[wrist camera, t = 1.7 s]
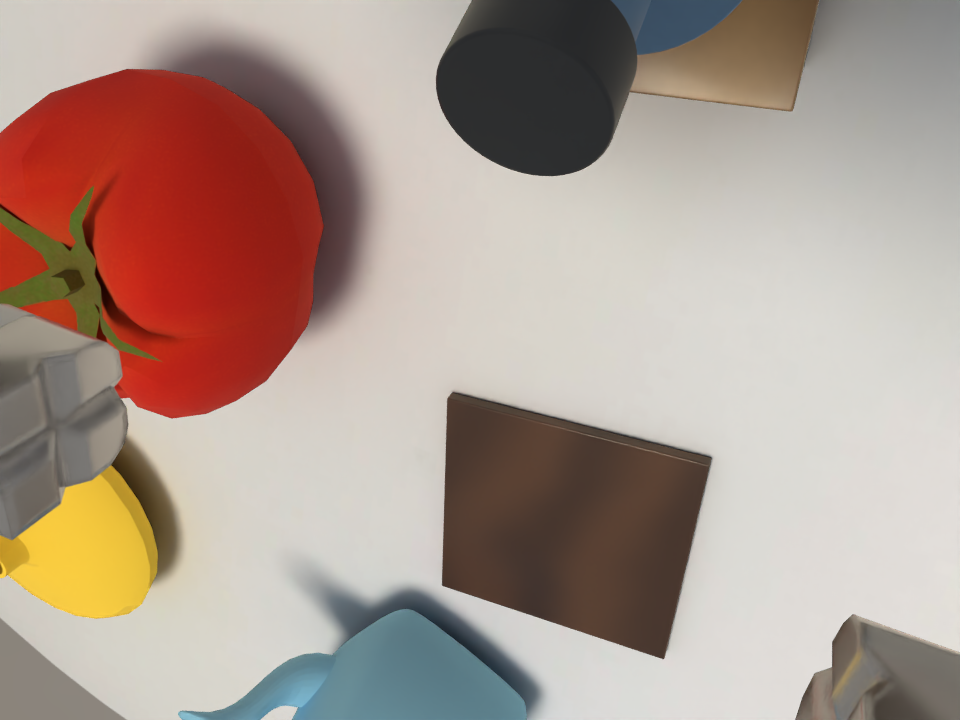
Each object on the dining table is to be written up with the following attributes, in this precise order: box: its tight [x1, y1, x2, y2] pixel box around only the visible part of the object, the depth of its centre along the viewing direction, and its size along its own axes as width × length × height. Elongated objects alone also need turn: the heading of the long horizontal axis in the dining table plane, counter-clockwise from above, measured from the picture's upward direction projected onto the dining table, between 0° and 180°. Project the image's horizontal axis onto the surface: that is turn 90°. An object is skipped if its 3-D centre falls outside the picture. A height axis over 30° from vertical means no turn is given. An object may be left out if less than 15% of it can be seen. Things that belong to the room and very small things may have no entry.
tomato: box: [0, 69, 324, 418], centre depth 32 cm, size 13×14×12 cm
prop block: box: [630, 0, 819, 111], centre depth 23 cm, size 8×4×7 cm, turn 87°
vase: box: [0, 465, 158, 619], centre depth 50 cm, size 16×16×7 cm
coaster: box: [442, 393, 711, 659], centre depth 38 cm, size 12×12×1 cm
